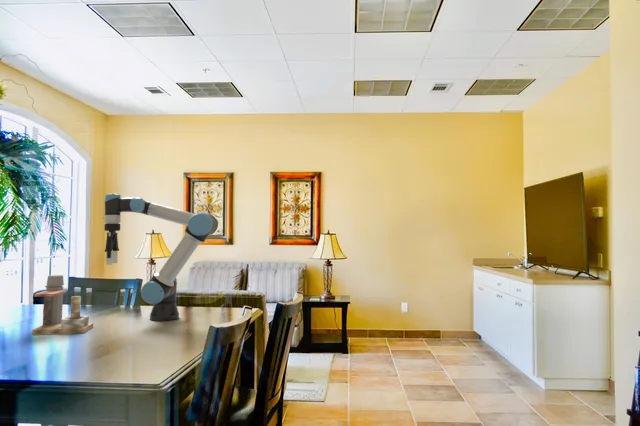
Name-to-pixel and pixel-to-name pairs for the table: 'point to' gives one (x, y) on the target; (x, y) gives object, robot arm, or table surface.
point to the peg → (75, 307)
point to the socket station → (67, 323)
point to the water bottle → (55, 298)
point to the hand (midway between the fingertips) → (111, 263)
